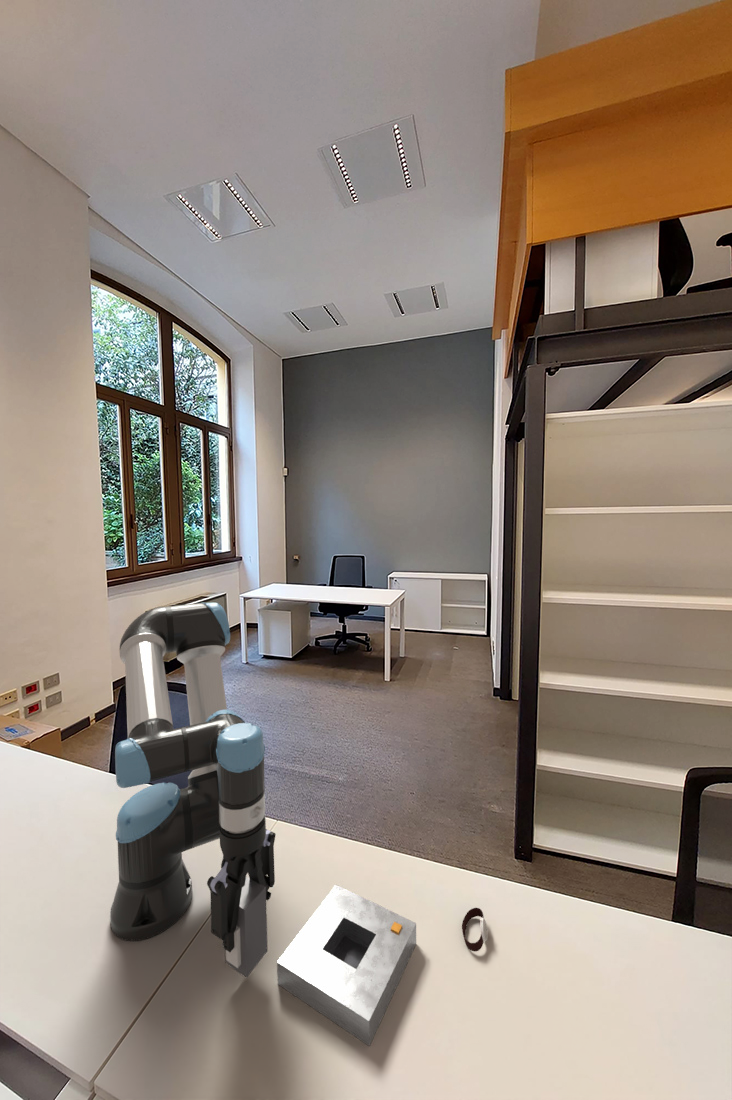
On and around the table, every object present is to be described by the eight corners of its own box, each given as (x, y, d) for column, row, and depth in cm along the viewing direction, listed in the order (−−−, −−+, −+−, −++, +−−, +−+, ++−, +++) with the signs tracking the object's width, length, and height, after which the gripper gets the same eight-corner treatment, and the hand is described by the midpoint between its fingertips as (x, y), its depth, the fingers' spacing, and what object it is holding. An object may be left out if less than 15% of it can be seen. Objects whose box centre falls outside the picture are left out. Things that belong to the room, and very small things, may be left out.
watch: (485, 959, 76) (485, 939, 76) (459, 950, 78) (459, 931, 78) (488, 921, 84) (488, 904, 84) (464, 914, 85) (464, 897, 85)
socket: (277, 984, 73) (277, 960, 72) (336, 902, 88) (335, 882, 88) (369, 1046, 64) (368, 1019, 63) (416, 943, 79) (416, 921, 79)
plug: (225, 962, 73) (223, 896, 72) (246, 937, 77) (244, 875, 76) (246, 977, 70) (244, 909, 69) (267, 951, 75) (265, 886, 74)
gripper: (215, 865, 62) (220, 1011, 64) (294, 796, 78) (296, 915, 79) (181, 846, 66) (187, 985, 68) (263, 783, 82) (266, 897, 83)
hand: (246, 947), depth 73 cm, fingers closed on plug, 5 cm apart
